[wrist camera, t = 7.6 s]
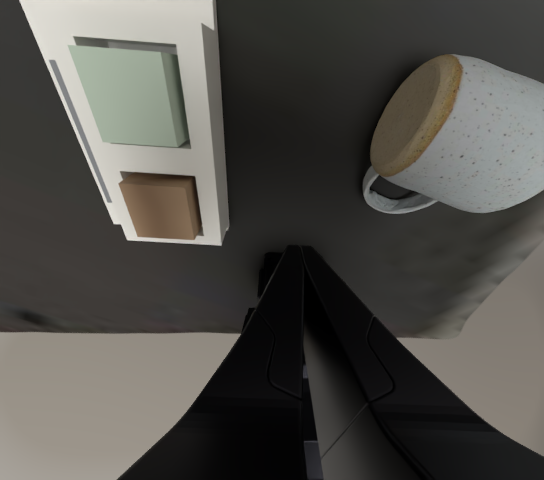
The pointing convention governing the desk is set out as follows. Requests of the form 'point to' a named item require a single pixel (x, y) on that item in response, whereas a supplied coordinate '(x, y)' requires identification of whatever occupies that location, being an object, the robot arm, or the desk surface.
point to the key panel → (195, 83)
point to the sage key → (133, 95)
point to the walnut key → (162, 205)
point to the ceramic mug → (460, 138)
